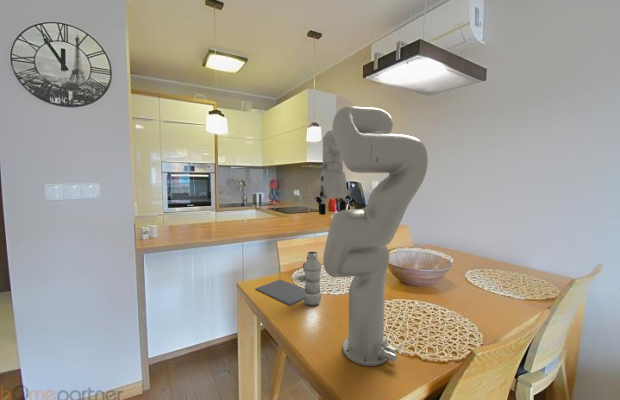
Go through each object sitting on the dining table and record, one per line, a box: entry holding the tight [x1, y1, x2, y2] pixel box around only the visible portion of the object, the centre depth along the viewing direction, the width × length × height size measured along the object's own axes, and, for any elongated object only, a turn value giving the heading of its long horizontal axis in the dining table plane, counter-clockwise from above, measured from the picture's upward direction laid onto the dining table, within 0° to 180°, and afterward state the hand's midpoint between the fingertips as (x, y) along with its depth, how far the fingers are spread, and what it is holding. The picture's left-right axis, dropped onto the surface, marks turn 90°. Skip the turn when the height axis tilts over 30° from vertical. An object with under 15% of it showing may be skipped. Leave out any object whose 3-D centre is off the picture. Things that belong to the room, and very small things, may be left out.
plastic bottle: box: [303, 251, 322, 306], centre depth 102 cm, size 6×7×20 cm
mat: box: [255, 278, 305, 307], centre depth 114 cm, size 22×14×1 cm, turn 47°
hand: (332, 213), depth 102 cm, fingers open, 9 cm apart
